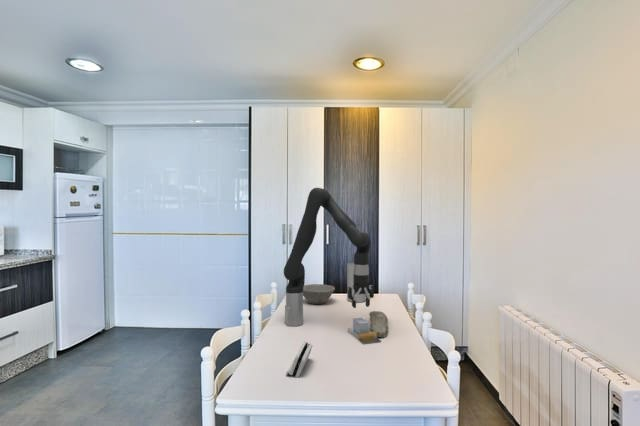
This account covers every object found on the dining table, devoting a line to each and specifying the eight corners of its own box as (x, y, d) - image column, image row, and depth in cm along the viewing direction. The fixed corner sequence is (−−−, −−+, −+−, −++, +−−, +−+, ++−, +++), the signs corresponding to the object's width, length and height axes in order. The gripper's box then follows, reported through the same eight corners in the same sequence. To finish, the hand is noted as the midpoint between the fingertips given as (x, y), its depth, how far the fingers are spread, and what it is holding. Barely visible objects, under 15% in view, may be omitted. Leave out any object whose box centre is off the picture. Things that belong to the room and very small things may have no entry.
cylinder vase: (368, 299, 235) (368, 263, 235) (360, 303, 224) (361, 265, 224) (352, 297, 241) (352, 261, 241) (344, 301, 231) (344, 264, 231)
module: (359, 338, 164) (359, 323, 164) (353, 332, 172) (353, 318, 172) (368, 336, 166) (368, 322, 166) (361, 331, 173) (361, 317, 173)
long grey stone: (368, 339, 164) (389, 342, 163) (368, 329, 164) (390, 331, 163) (369, 314, 199) (386, 316, 197) (369, 305, 199) (387, 307, 197)
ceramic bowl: (296, 299, 234) (296, 285, 234) (328, 297, 241) (328, 283, 241) (304, 308, 213) (304, 292, 213) (339, 305, 220) (339, 290, 220)
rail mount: (363, 344, 156) (363, 338, 156) (347, 331, 173) (347, 325, 173) (380, 342, 159) (381, 335, 159) (363, 329, 176) (363, 323, 176)
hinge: (296, 357, 142) (304, 335, 142) (306, 362, 142) (314, 340, 141) (284, 376, 126) (293, 351, 125) (296, 382, 125) (305, 357, 124)
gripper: (350, 275, 163) (350, 310, 163) (377, 273, 167) (377, 307, 168) (344, 272, 170) (344, 306, 170) (370, 271, 175) (370, 303, 175)
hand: (360, 306), depth 169 cm, fingers open, 6 cm apart
